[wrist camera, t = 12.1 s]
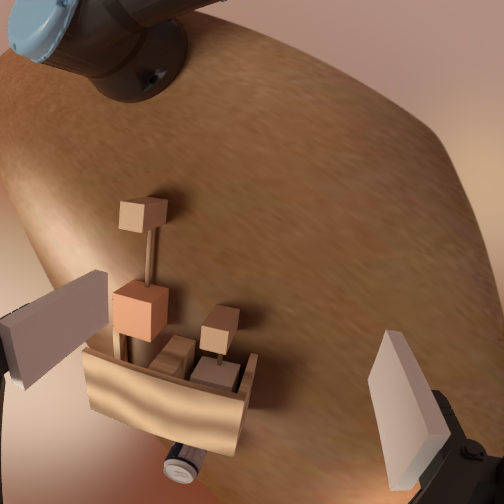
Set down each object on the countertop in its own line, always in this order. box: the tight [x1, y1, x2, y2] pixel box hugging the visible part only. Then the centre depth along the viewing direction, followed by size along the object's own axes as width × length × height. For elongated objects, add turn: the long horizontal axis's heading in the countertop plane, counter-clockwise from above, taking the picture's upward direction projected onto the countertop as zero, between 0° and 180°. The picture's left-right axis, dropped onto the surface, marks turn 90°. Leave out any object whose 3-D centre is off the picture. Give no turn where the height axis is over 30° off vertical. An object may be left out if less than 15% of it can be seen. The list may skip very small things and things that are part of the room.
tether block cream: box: [190, 304, 240, 393], centre depth 44 cm, size 15×6×7 cm, turn 171°
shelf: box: [82, 325, 258, 457], centre depth 44 cm, size 11×23×11 cm, turn 81°
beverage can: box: [164, 441, 207, 483], centre depth 46 cm, size 6×6×12 cm
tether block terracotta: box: [113, 197, 169, 342], centre depth 42 cm, size 19×6×7 cm, turn 171°
